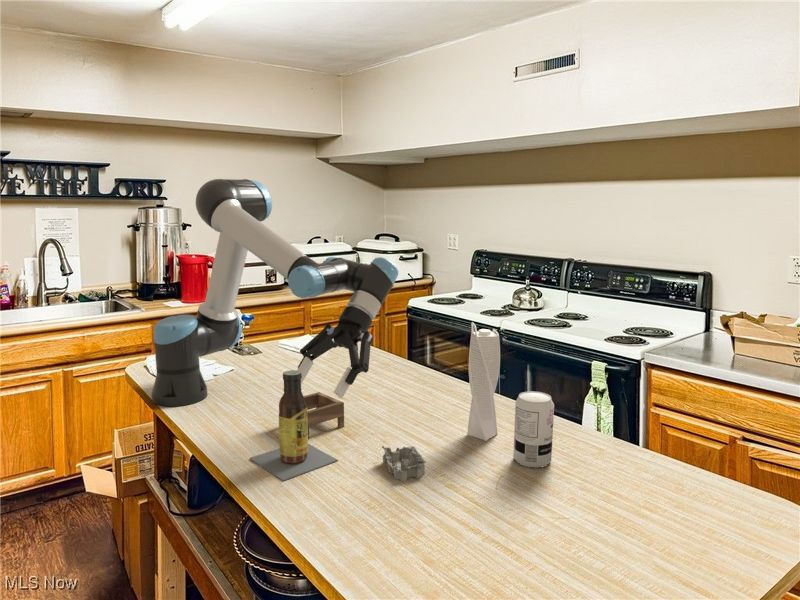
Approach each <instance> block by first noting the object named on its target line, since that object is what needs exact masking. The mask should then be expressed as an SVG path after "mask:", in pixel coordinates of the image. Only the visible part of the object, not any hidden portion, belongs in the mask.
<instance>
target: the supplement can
mask: <svg viewBox="0 0 800 600" xmlns="http://www.w3.org/2000/svg"><path fill="white" fill-rule="evenodd" d="M514 404H515V405H514V406H515V408H514V430H513V459H514V460H515V461H516V462H517V463H518V464H519V463H520V464H519V465H521V466H522V465H524V466H523V467H526V466H528V467H527V468H530V467H541V468H543V467H542V466H545V465H546V466H548V465H549V464H550V463H551V462H552V454H553V453H552V452H553V434H554V414H555V403H554V402H553V400H552V396H551V395H550V394H548V393H545V392H541V391H533V390H532V391H531V390H529V391H524V392H523V391H522V392H520V393H519V394H518V397H517V399H516V400H515V403H514ZM547 464H548V465H547ZM546 466H545V467H546Z"/></svg>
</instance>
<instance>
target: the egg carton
mask: <svg viewBox="0 0 800 600" xmlns="http://www.w3.org/2000/svg"><path fill="white" fill-rule="evenodd" d="M381 448H382V449H383V451H384V454H383V456H382V464H383V466H386V467H387V471H388V472H389V473H393V479H395V480H400V481H401V482H404V481H408V478H411V477H413V478H416V479H420V478H423V475H425V473H426V470H425V468H426V466H425V464H426V463H427V461H426V460H425V459H424V457H423V456H422V454H420V452H418V450H417V448H416V447H415V446H403V448H400V447H396V449H395V450H394V451H392V449H391V447H388V446H387V447H385V446H384V445H382V446H381ZM399 461H400V462H399ZM393 462H394V463H393Z"/></svg>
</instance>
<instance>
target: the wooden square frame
mask: <svg viewBox="0 0 800 600" xmlns="http://www.w3.org/2000/svg"><path fill="white" fill-rule="evenodd" d="M303 397H304V400H305V402H306V405H307V421H308V439H310V427H312V426H315V425H319V424H322V423H325V422H329V421H331V420H332V421H333V420H336V419H337V428H340V429H343V428H345V402H343V401H341V400H339V399H337V398H334V397H332V396H329V395H327V394H324V393H322V392H320V391H318V392H314V393H310V394H307V395H303Z"/></svg>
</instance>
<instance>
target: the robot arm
mask: <svg viewBox="0 0 800 600" xmlns="http://www.w3.org/2000/svg"><path fill="white" fill-rule="evenodd" d="M195 208H196V211H197V214H198V215H199V217H200V219H201V220H202V221H203V222H204V223H205V224H206V225H207V226H208V227H210V228H211V229H213V230H214V231H215V232H217V233H219V235H218V242H217V245H216V250H215V255H214V259H213V263H212V269H211V273H210V278H209V281H208V282H209V283H208V287H207V291H206V296H205V302H203V303H200V304H199V306H198V308H197V313H196V316H195V315H193V314H187V313H186V314H185V313H184V314H178V315H171V316H167V317H165V318H163V319H160V320H158V321H157V322H156V323H155V325H154V327H153V342H154V354H155V355H154V357H155V366H156V367H155V368H156V376H155V380H154V384H153V386H152V390H151V401H152V403H153V404H155V405H157V406H161V407H181V406H182V407H183V406H186V405H191V404H196V403H198V402H201V401H203V400H205V399H206V398H207V397H208V386H207V383H206V382H205V379H204V376H203V374H202V371H201V369H200V368H201V367H200V358H201V357H204V356H208V355H212V354H214V353H218V352H223V351H226V350H227V349H229V348H230V349H231V348H232V347H234V346H235V345H237V343H239V341H240V339H241V336H242V333H243V325H242V324H241V322H242V320H241V318H240V317H239V312H238V310H237V309H236V303H237V299H238V295H239V289H240V285H241V281H242V277H243V272H244V270H245V269H244V268H245V264H246V259H247V256H248V251H249V253H251V254H252V255H254V256H255V257H256V258H258V259H259V260H261V262H263V263H264V264H266V265H267V266H268V267H269V268H271V269H273V270H274V271H275V272H277V273H278V274H279V275H280V276H282V277H284V278H285V279H286V280H287V283H288V287H289V289H290V291H291V293H292V294H293V295H294V296H296V297H297V298H300V299H307V298H309V299H310V298H311V299H313V298H316V297H318V296H321V295H326V294H330V293H334V292H338V291H339V292H340V291H342V290H343V291H345V290H346V291H350V292H353V294H352V295H351V297H350V298H349V300H348V302H347V304H346V307H344V309H343V310H342V312H341V314H340V315H339V318H338V324H337V325H336V326H332V324H330V323H326V325H324V327H323V329H322V330H321V331H320V332H319V333H318V334H317V335H315V336H314V337H313V338H312V339H311V340H310V341H309V342H307V343H306V344H305V345H304V346H302V347H301V348H300V350H299V353H300V354H301V355H302V356H303V357H302V359H301V361H300V363H299V364H298V366H297V371H300V372H301V375H302V378H301V385H302V384H303V382H304V380H305V378H306V377H307V375H308V374H309V372H310V370H311V368H312V367H313V365H314V360H315V359H317V358H319V357H321V356H322V355H324V354H326V353H327V352H328V351H330V350H332V349H335V348H337V347H339V348H344V349H346V350H347V349H348V353H349V361H350V365H349V366H350V367H349V366H347V367H346V369H345V371H344V373H343V375H342V376H341V377H340V380H339V382H338V383H337V385H336V387H335V389H334V390H333V393H334V394H335V395H336V396H337V397H338V398H339V399H343V398H344V396H345V394H346V392H347V391H348V389H349V387H350V386H352V385H353V384H354V382H355V380H356V379H357V376H358V375H359V374H360V373H366V374H367V373H368V372H369V369H370V368H369V367H370V366H369V365H370V357H371V344H372V343H373V340H374V337H373V335H372V334H371V333H370V332H369V330H370V328H371V327H372V324H373V320H375V318H376V316H377V314H379V311H380V310H381V307H382V305H383V304H384V302H385V300H386V299H387V296H388V295H389V294H390V291H391V290H392V288H394V284H395V283H396V280H397V278H398V276H399V269H398V267H397V265H396V264H395V263H394V262H393V261H391V260H390V259H388V258H385V257H380V256H379V257H375V258H374V259H373V260H372V261H371V262H370V264H367V263H361V262H357V261H353V260H349V259H345V258H343V257H335V256H329V257H326V259H324V261H322V262H320V263H319V262H317V261H315V260H313V259H312V258H311V257H309V256H308V255H306V254H305V253H303V252H302V251H301V250H299V249H298V248H297V247H295V246H294V245H292V244H291V243H290V242H289V241H287V240H286V239H284V238H283V237H281V236H280V235H279V234H277V233H276V232H275V231H273V230H272V229H270V228H269V227H268V226H267V225H265V224H263V223H262V222H263V221H266V219H268V218H269V217H270V216H271V213H272V210H273V200H272V197H271V194H270V193H269V190H268V189H267V187H266V186H265V185H264V184H263V183H262V182H260V181H258V180H252V179H247V178H244V179H236V178H235V179H229V178H228V179H226V178H225V179H223V178H217V179H215V178H214V179H212V180H211V179H210V180H209V181H206V182H204V184H203V185H202V186H201V187H200V188H199V189H198V191H197V193H196V197H195ZM359 342H360V348H359V345H358V343H359Z"/></svg>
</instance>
